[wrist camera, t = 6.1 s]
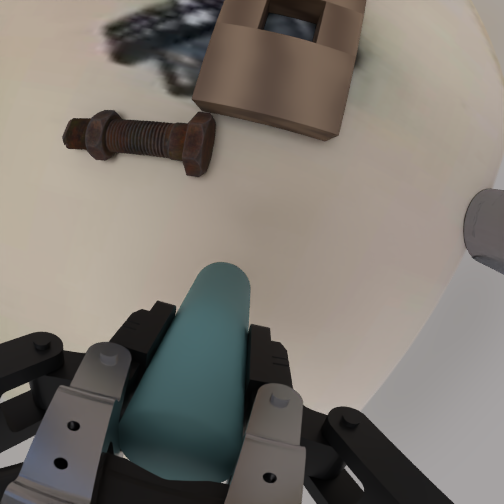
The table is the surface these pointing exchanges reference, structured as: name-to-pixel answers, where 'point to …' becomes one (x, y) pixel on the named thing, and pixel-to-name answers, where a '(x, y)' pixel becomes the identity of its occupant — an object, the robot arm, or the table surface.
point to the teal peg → (194, 385)
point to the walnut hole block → (282, 65)
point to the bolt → (145, 138)
